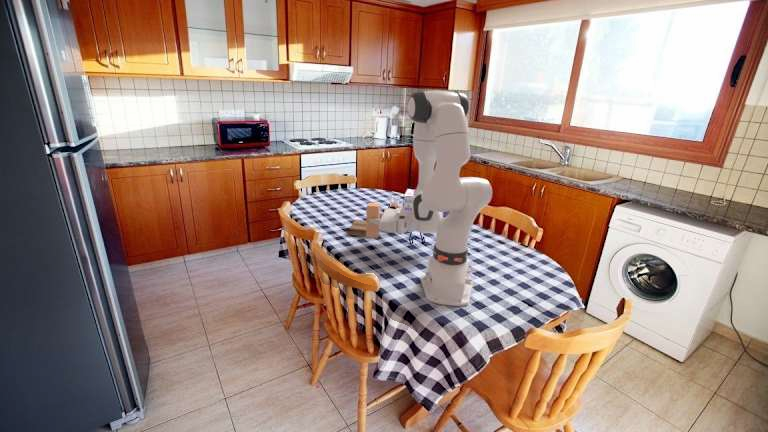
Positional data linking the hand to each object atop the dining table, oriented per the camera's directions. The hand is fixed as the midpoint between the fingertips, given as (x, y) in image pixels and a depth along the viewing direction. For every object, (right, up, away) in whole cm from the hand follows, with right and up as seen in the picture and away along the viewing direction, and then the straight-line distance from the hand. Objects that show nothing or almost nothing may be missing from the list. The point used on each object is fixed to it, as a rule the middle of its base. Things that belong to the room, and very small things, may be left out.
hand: (371, 217), depth 161 cm
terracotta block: (0, -8, +2) cm, 8 cm away
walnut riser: (-4, -7, +19) cm, 21 cm away
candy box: (+18, -3, +33) cm, 38 cm away
